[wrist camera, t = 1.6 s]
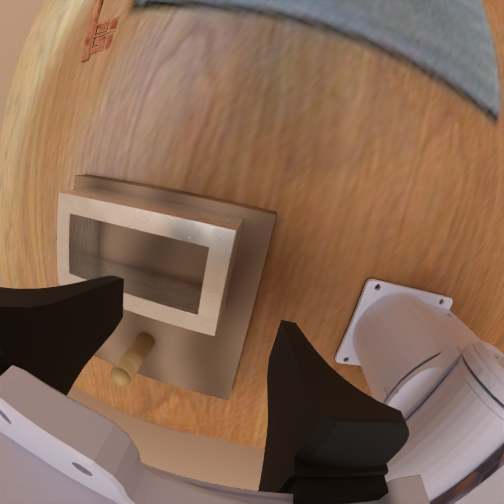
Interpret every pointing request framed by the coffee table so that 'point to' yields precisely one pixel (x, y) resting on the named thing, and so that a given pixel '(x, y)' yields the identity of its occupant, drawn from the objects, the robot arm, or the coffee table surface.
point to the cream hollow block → (141, 281)
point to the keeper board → (190, 270)
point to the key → (92, 33)
